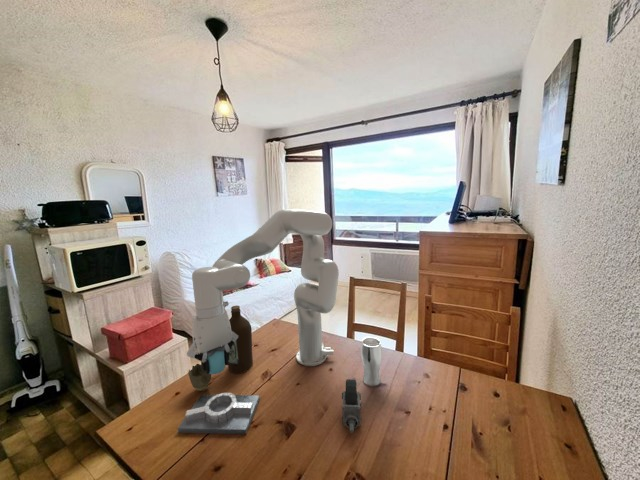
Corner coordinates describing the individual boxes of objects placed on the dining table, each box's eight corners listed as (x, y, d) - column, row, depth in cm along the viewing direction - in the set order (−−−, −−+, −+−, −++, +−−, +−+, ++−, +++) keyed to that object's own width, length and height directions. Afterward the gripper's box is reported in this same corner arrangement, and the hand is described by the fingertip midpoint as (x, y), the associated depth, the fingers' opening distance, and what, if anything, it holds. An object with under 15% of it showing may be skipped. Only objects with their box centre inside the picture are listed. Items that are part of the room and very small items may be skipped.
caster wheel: (342, 401, 85) (341, 438, 71) (342, 373, 85) (340, 404, 70) (360, 402, 85) (362, 440, 70) (359, 373, 84) (361, 405, 69)
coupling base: (259, 399, 86) (258, 388, 86) (246, 434, 74) (245, 421, 73) (201, 398, 88) (200, 388, 87) (178, 432, 75) (176, 420, 74)
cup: (205, 398, 88) (202, 376, 87) (186, 395, 90) (183, 374, 88) (217, 383, 95) (215, 362, 94) (200, 380, 97) (197, 361, 96)
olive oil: (241, 355, 112) (236, 299, 108) (259, 362, 106) (255, 304, 103) (221, 369, 103) (214, 309, 99) (239, 378, 97) (233, 314, 94)
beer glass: (359, 384, 91) (359, 345, 89) (364, 372, 98) (363, 335, 95) (380, 389, 89) (379, 348, 86) (383, 376, 95) (383, 338, 93)
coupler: (221, 361, 82) (219, 340, 81) (228, 368, 78) (225, 347, 77) (205, 368, 79) (202, 347, 78) (210, 376, 75) (208, 354, 74)
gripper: (233, 298, 84) (238, 351, 87) (174, 315, 73) (182, 374, 76) (243, 305, 78) (248, 360, 81) (181, 324, 67) (189, 387, 70)
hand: (216, 366), depth 78 cm, fingers closed on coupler, 5 cm apart
